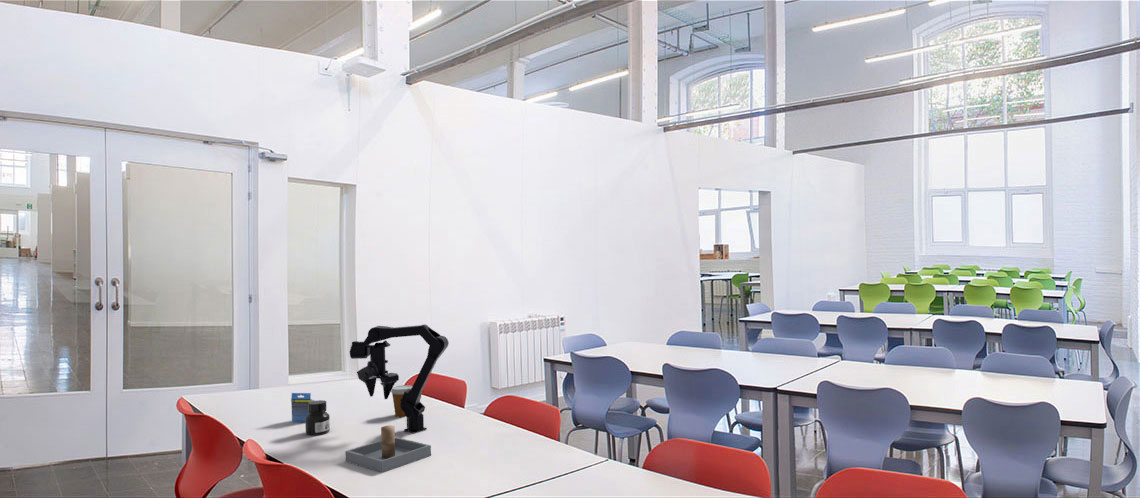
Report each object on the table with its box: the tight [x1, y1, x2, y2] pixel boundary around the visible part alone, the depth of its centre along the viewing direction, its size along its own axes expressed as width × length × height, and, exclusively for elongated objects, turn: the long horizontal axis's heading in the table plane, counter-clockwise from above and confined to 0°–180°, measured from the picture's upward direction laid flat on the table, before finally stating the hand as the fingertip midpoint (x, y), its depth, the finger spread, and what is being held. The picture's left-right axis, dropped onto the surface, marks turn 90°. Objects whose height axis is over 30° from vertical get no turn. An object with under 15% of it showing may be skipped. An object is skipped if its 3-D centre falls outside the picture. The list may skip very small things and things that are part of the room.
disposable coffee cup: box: [390, 384, 413, 418], centre depth 278 cm, size 10×10×12 cm
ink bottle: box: [304, 399, 331, 436], centre depth 253 cm, size 10×9×12 cm
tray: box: [344, 436, 432, 473], centre depth 219 cm, size 20×20×4 cm
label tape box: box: [290, 392, 316, 423], centre depth 272 cm, size 9×4×12 cm, turn 84°
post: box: [380, 425, 396, 459], centre depth 219 cm, size 4×4×10 cm
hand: (378, 397), depth 254 cm, fingers open, 9 cm apart
